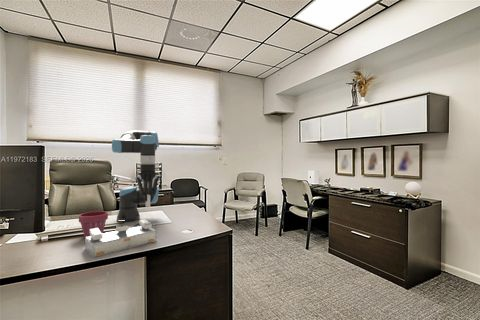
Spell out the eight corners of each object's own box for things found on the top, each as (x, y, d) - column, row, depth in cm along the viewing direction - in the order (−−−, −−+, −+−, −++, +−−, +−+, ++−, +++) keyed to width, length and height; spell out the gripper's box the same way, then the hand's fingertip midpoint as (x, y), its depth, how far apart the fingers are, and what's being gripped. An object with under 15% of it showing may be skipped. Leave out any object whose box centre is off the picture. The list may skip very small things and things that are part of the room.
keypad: (124, 227, 140) (140, 220, 155) (124, 233, 140) (140, 226, 155) (138, 228, 138) (153, 221, 153) (138, 234, 138) (153, 227, 153)
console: (85, 248, 116) (85, 234, 116) (145, 234, 137) (145, 222, 137) (92, 258, 105) (92, 241, 105) (156, 241, 126) (156, 228, 126)
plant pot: (106, 230, 146) (106, 209, 145) (109, 236, 134) (109, 214, 134) (78, 234, 137) (78, 212, 137) (79, 241, 126) (79, 217, 126)
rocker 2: (116, 231, 123) (116, 227, 123) (123, 230, 125) (123, 225, 125) (121, 231, 117) (120, 226, 117) (128, 229, 119) (128, 224, 120)
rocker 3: (139, 223, 131) (139, 219, 131) (145, 222, 134) (145, 218, 133) (145, 229, 126) (145, 224, 125) (151, 227, 128) (151, 223, 128)
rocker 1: (89, 233, 114) (89, 228, 114) (97, 231, 117) (98, 227, 117) (93, 240, 109) (93, 235, 109) (102, 238, 111) (102, 234, 111)
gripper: (138, 164, 120) (138, 210, 120) (162, 163, 129) (162, 206, 129) (132, 163, 125) (133, 207, 126) (156, 163, 134) (156, 204, 135)
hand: (147, 206), depth 127 cm, fingers closed
